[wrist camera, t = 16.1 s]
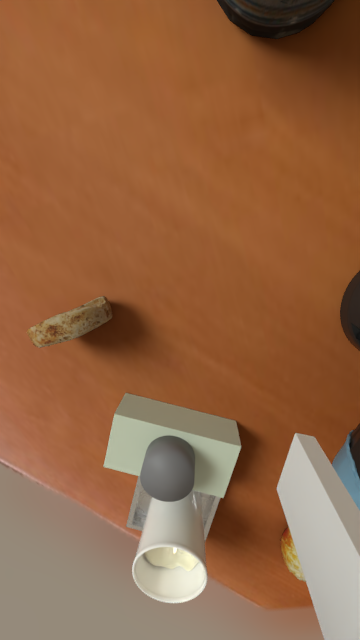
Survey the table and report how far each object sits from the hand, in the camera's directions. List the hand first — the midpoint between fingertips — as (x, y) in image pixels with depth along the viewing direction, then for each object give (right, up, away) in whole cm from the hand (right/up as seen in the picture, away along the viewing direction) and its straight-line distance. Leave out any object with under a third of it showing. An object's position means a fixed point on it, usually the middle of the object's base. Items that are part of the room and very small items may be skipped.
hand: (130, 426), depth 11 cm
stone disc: (-12, +5, +30) cm, 33 cm away
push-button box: (+1, -14, +34) cm, 36 cm away
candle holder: (+2, -26, +36) cm, 44 cm away
